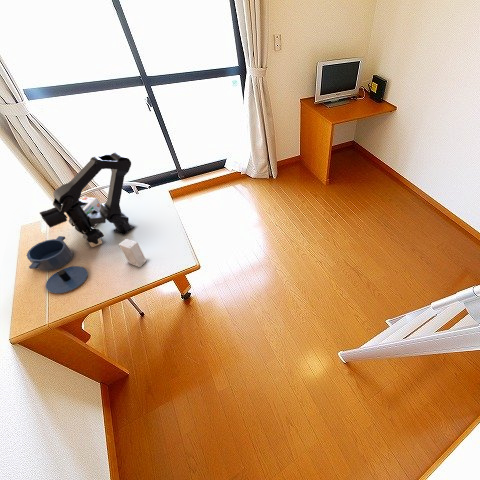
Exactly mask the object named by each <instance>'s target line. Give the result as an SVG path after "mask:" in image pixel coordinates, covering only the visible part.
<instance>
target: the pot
mask: <svg viewBox="0 0 480 480" xmlns="http://www.w3.org/2000/svg"><path fill="white" fill-rule="evenodd" d="M65 239H66V236H64V235H63V236H62V235H59V236H57V237H56V238H52V239H46V240H43V241H41V242H38V243H37V244H35V245H33V246H31V248H29V250H28V251H27V253H26V258H27V260H28V261H29V262H30V263H31V264H30V265H29V266H28V269H31V270H39V271H42V272H51V271H55V270H58V269H61V268H63V267H64V266H66V265H68V264H69V263H70V262H71V260H73V257H74V253H73V251H72V249H70V247H69V245H67V243H66V242H65V241H64V240H65Z"/></svg>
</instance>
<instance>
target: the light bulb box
mask: <svg viewBox="0 0 480 480" xmlns="http://www.w3.org/2000/svg"><path fill="white" fill-rule="evenodd" d="M81 200H83V201H84V202H85V203H86V204H85V205H82V206H81V207H82V208H83V210H84V212H85V213H86V214H87V215H88V214H89V213H90V211H91V210H93V209H95V210H96V211H97V212H98V213H99V212H100V211H99V210H100V208H101V204H102V203H101V202H100V200H99V198H98V197H92V196H91V197H90V196H83V197H82V198H81ZM100 213H101V212H100ZM97 225H98V224H95V226H94V227H93V228H96V226H97Z"/></svg>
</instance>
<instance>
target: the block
mask: <svg viewBox="0 0 480 480" xmlns="http://www.w3.org/2000/svg"><path fill="white" fill-rule="evenodd" d="M102 241H103V240H101V238H99V239H98V244H94V243H92V242H91V243H88V244H89V246H90V248H94V247H97V246H99V245H102V244H103V242H102Z"/></svg>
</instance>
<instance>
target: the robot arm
mask: <svg viewBox="0 0 480 480" xmlns="http://www.w3.org/2000/svg"><path fill="white" fill-rule="evenodd" d="M131 166H132V161H131V160H130V158H128V157H127V156H126V155H124V154H123V153H121V152H112V153H106V154H102V155H100V156H92V157H90V159H89V161H88V162H87V164H86V163H85V165H84V166H83V167H82V169H80V170H79V172H78V173H76V175H75V176H74V177H73V178H72V179H71V180H70V181H69V182H67V183H64V184H62V185H60V186H59V187H57V188H56V189H55V190H54V191H53V200H52V201H53V202H52V206H53V208H50V209H47V210H46V209H45V210H43V211H39V215H40V217H41V219H42V220H43V222H44V223H45V224H46V225H47V227H49V228H50V229H51V228H54V227H55V226H59V225H61V224H63V223H65V222H67V221H68V223H69V224H70V226H72V227H74V230H76V232H78V233H80V234H82V238H83V239H84V240H85V241H86V242H87V243H88V244H89V243H91V242H92V243H94V244H98V239H99V238H100V239H101V238H103V237H104V236H105V235H104V233H103V232H102V231H101V230H100V229H99V228H96V226H95V224H97V225H98V224H105V223H106V222H107V221H108V222H109V223H111V224H113V226H114V227H115V228H114V229H113V232H115V233H118V234H120V235H123V236H125V235H126V234H128V233H129V232H131V230H133V229H134V228H135V226H134V225H131V224H130V222H129V217H128V216H127V215H126V214H124V212H122V208H121V205H120V203H121V198H122V193H123V192H122V191H123V186H124V181H125V180H124V179H125V176H126V175H127V174H129V172H130V170H131ZM102 170H110V171H111V174H110V175H111V176H110V180H109V187H108V192H107V199H106V201H105V202H104V203H100V204H101V208H100V210H99V211H100V212H101V213H100V212H99V213H98V212H97V211H96V210H95V209H93V210H91V211H90V213H89V214H88V215H87V214H86V213H85V212H84V210H83V208H82V207H81V206H82V205H85V204H86V203H85V202H84V201H83V200H81V199H82V198H81V199H80V197H81V195H82V192H83V190H84V189H85V188H87V186H88V184H89V183H91V182H92V180H93V179H94V178H95V177H96V176H97V175H98V174H99V173H100V172H101V171H102ZM65 213H66V214H65ZM94 226H95V227H94Z"/></svg>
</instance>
